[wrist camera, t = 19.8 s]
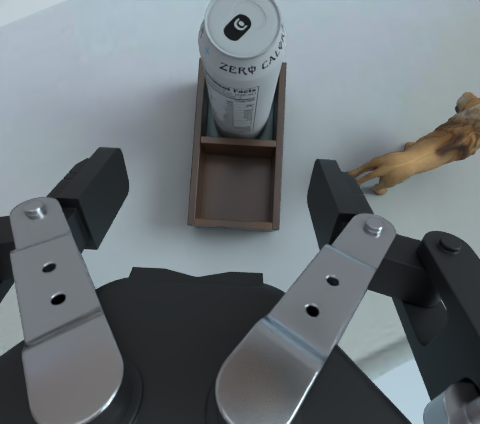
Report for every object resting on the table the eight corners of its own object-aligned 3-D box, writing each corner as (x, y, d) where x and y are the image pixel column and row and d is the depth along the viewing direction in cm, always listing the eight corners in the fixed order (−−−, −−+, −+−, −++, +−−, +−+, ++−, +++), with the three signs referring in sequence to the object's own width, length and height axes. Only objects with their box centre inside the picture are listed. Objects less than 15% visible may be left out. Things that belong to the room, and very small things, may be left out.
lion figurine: (429, 115, 34) (497, 71, 25) (457, 152, 34) (536, 120, 25) (327, 184, 33) (359, 164, 24) (354, 223, 33) (397, 217, 24)
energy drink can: (278, 117, 33) (311, 18, 18) (242, 155, 33) (245, 86, 18) (239, 82, 34) (240, -42, 19) (203, 120, 33) (174, 23, 18)
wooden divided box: (194, 226, 33) (187, 225, 28) (204, 81, 34) (199, 57, 30) (273, 231, 33) (279, 230, 28) (280, 85, 34) (286, 62, 30)
